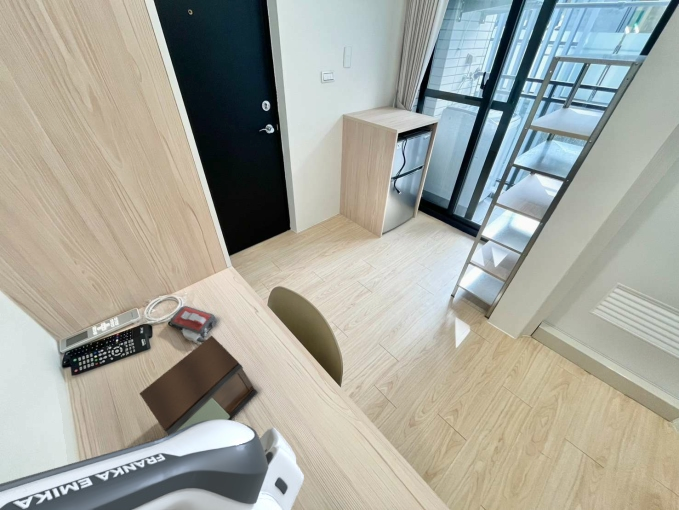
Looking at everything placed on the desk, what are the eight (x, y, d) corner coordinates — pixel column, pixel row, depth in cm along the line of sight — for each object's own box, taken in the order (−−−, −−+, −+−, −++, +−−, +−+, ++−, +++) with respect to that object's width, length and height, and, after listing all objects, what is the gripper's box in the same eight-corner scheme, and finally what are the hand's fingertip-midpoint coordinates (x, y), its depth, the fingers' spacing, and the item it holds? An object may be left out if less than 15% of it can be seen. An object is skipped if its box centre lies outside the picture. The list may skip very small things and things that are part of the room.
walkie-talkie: (164, 332, 80) (221, 353, 75) (157, 324, 77) (216, 345, 72) (185, 308, 86) (239, 326, 81) (179, 300, 83) (235, 318, 78)
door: (210, 463, 56) (185, 450, 47) (198, 446, 59) (172, 431, 49) (241, 429, 61) (223, 412, 52) (228, 414, 63) (210, 395, 54)
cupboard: (200, 453, 59) (167, 435, 48) (174, 417, 64) (139, 393, 53) (258, 392, 68) (241, 365, 57) (231, 365, 73) (211, 335, 62)
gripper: (180, 657, 28) (173, 561, 40) (312, 466, 40) (278, 434, 51) (139, 623, 27) (144, 535, 38) (287, 437, 39) (258, 410, 50)
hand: (221, 476), depth 45 cm, fingers open, 8 cm apart
